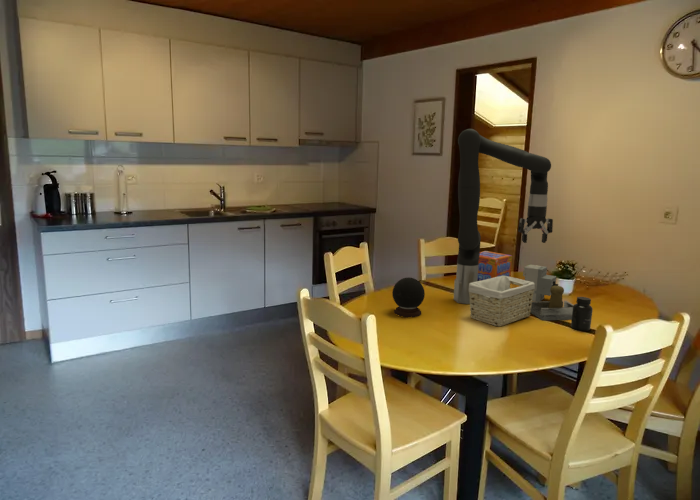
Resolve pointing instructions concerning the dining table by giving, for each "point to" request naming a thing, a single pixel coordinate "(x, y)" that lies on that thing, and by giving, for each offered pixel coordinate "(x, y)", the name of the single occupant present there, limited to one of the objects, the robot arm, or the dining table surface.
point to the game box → (493, 265)
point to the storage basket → (500, 300)
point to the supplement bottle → (582, 314)
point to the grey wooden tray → (552, 311)
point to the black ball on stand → (408, 297)
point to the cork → (556, 297)
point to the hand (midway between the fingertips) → (534, 242)
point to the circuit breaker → (539, 280)
